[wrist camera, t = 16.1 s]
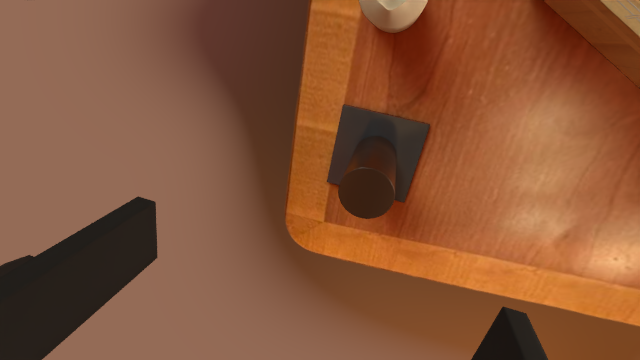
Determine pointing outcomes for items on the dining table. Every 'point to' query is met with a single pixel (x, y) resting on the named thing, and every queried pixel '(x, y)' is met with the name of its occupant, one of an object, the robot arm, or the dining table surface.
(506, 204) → the dining table surface
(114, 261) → the robot arm
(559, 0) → the skate ramp
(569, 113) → the dining table surface
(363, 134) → the coaster
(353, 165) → the dark brown cylinder
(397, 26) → the candle
